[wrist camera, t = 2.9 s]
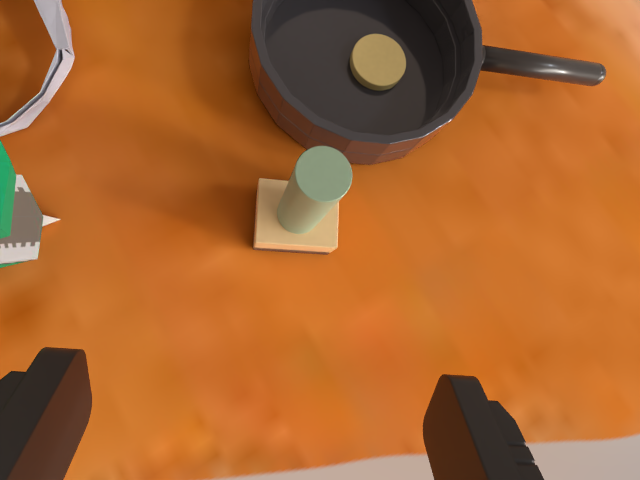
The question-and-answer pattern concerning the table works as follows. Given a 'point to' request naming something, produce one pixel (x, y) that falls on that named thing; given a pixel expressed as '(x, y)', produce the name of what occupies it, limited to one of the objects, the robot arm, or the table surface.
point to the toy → (18, 217)
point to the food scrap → (377, 62)
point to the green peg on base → (303, 204)
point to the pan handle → (541, 66)
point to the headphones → (59, 69)
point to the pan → (342, 87)
